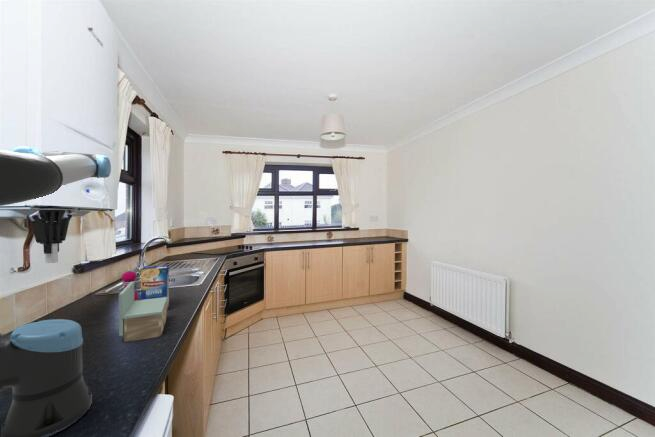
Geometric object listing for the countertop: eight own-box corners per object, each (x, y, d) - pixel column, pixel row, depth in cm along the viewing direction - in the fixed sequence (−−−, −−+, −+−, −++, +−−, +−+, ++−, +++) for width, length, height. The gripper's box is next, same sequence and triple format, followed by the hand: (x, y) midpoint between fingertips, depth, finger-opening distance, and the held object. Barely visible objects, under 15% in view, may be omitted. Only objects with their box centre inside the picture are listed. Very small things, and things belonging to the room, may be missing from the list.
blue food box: (167, 311, 130) (167, 267, 130) (140, 314, 126) (140, 269, 125) (169, 306, 137) (168, 265, 136) (143, 309, 132) (143, 266, 131)
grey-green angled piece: (161, 329, 104) (161, 290, 104) (119, 336, 98) (118, 294, 98) (167, 312, 121) (167, 278, 121) (131, 317, 115) (130, 281, 115)
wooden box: (161, 336, 105) (161, 314, 105) (124, 342, 100) (124, 319, 99) (166, 319, 121) (166, 300, 121) (135, 323, 116) (134, 303, 115)
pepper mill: (123, 305, 137) (123, 267, 136) (139, 303, 139) (139, 266, 139) (118, 310, 130) (117, 270, 129) (135, 308, 133) (135, 269, 132)
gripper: (58, 195, 96) (59, 258, 96) (17, 193, 82) (18, 266, 83) (79, 195, 96) (80, 259, 96) (41, 193, 83) (42, 266, 83)
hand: (51, 262), depth 90 cm, fingers closed
